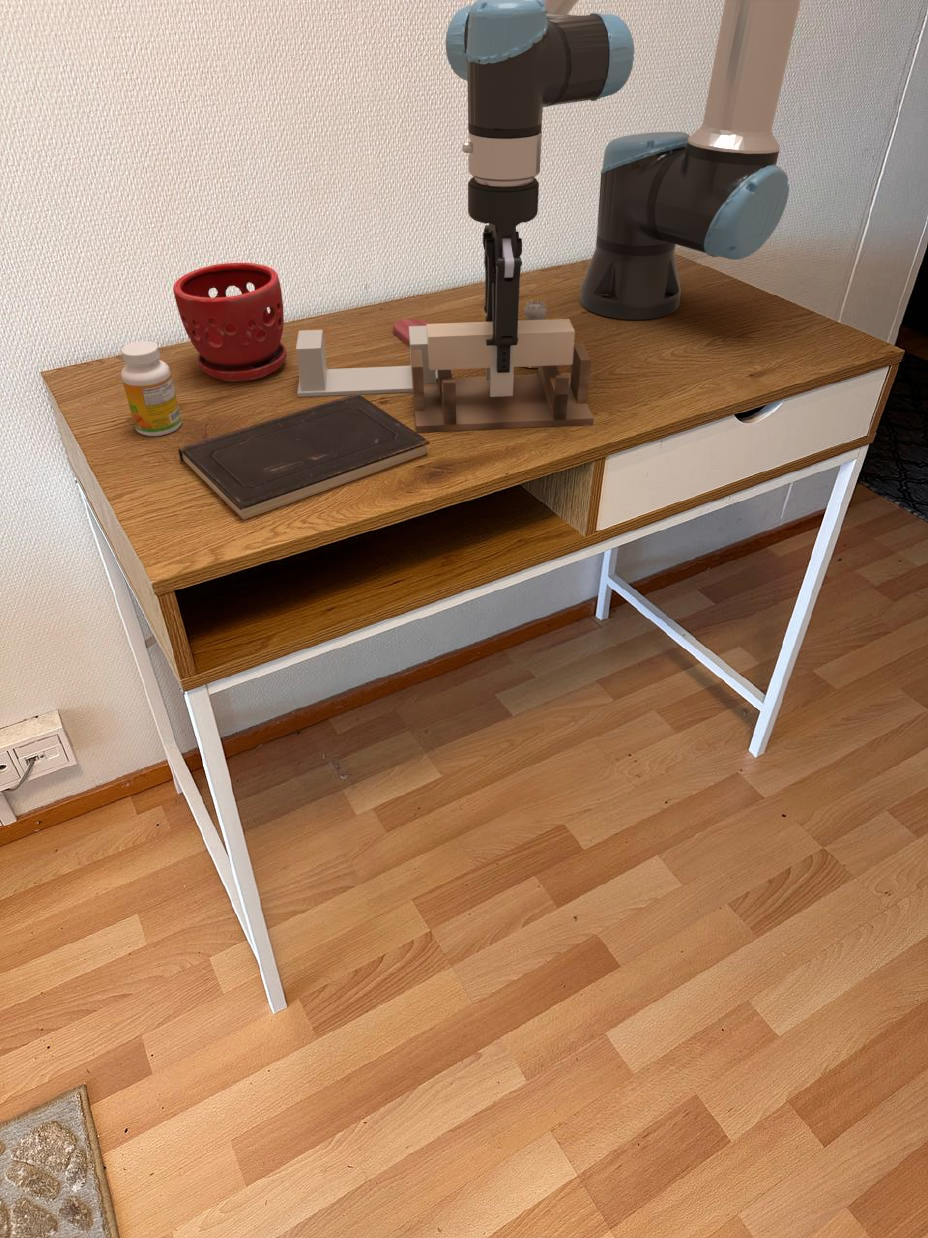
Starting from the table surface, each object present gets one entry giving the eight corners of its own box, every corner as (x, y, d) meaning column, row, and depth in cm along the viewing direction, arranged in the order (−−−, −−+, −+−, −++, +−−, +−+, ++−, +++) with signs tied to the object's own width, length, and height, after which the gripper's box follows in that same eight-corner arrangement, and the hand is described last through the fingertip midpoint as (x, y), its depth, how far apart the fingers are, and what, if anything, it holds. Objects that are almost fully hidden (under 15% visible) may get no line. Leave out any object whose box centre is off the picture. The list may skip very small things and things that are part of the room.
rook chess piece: (524, 353, 120) (527, 295, 115) (554, 359, 119) (558, 300, 114) (510, 365, 117) (512, 306, 112) (541, 372, 116) (544, 311, 111)
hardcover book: (430, 459, 99) (429, 440, 98) (243, 526, 89) (239, 507, 87) (356, 408, 109) (355, 391, 108) (181, 463, 99) (176, 445, 97)
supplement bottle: (130, 422, 105) (109, 344, 99) (175, 412, 107) (157, 335, 101) (141, 441, 102) (120, 360, 96) (187, 430, 104) (169, 351, 98)
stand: (436, 368, 117) (435, 323, 113) (440, 390, 112) (439, 344, 108) (301, 373, 116) (295, 329, 112) (297, 396, 110) (291, 350, 107)
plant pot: (215, 346, 123) (198, 258, 116) (304, 352, 121) (293, 263, 114) (174, 385, 113) (153, 292, 106) (271, 393, 111) (256, 298, 104)
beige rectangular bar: (566, 351, 107) (568, 318, 104) (572, 364, 104) (575, 331, 101) (427, 356, 106) (426, 323, 103) (429, 370, 103) (428, 336, 100)
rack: (573, 378, 114) (577, 330, 110) (593, 424, 104) (597, 373, 100) (412, 385, 113) (409, 337, 109) (416, 432, 103) (414, 381, 99)
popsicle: (432, 357, 117) (385, 321, 127) (432, 368, 118) (386, 332, 128) (467, 350, 119) (419, 315, 129) (467, 361, 120) (419, 325, 130)
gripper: (461, 159, 99) (462, 359, 113) (475, 199, 85) (475, 419, 100) (527, 157, 99) (520, 357, 114) (551, 197, 86) (540, 416, 101)
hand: (499, 386), depth 107 cm, fingers closed on beige rectangular bar, 4 cm apart
